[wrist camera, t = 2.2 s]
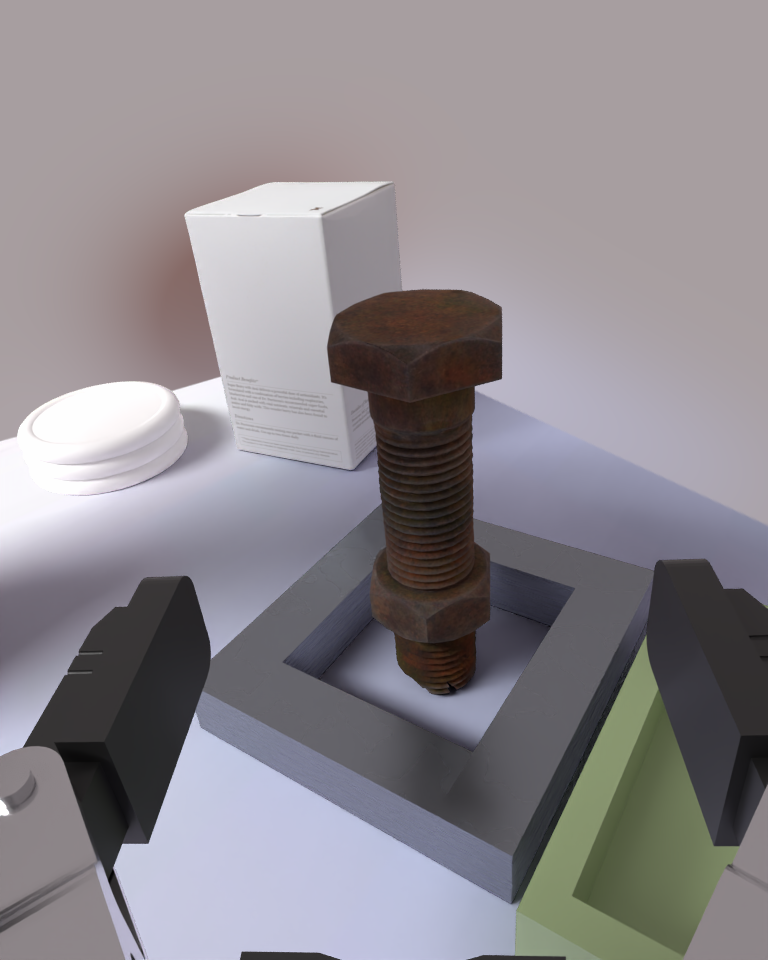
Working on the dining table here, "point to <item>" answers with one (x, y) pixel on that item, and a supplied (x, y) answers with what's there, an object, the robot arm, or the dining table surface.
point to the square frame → (411, 749)
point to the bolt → (424, 466)
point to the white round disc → (103, 438)
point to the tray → (625, 845)
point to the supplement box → (293, 308)
